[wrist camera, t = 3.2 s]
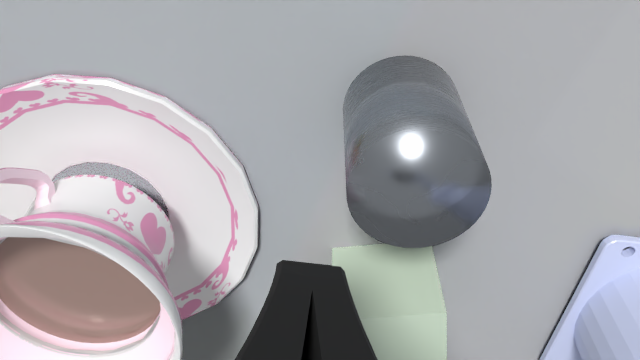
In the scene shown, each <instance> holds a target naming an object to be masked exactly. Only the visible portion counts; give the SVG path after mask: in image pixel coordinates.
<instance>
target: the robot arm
mask: <svg viewBox="0 0 640 360" xmlns="http://www.w3.org/2000/svg"><path fill="white" fill-rule="evenodd" d="M626 247H629V248H628V249H626V250H623V249H624V248H626ZM235 360H378V359H377V357H376V355H375V353H374V350H373V348H372V346H371V344H370V341H369V339H368V337H367V335H366V332H365V330H364V328H363V325H362V323H361V320H360V318H359V315H358V312H357V309H356V307H355V304H354V301H353V298H352V295H351V292H350V289H349V286H348V282H347V278H346V274H345V271H344V270H343V269H342V268H341V267H340V266H331V265H322V264H313V263H304V262H295V261H286V260H282V261H281V262H279V263H277V266H276V272H275V276H274V279H273V283H272V286H271V288H270V291H269V294H268V296H267V298H266V301H265V303H264V306H263V308H262V310H261V312H260V314H259V316H258V318H257V320H256V322H255V324H254V326H253V328H252V330H251V332H250V334H249V336H248V338H247V340H246V341H245V343H244V345H243V347H242V348H241V350H240V352H239V353H238V355H237V357H236V358H235ZM540 360H640V237H631V236H623V235H611V236H608V237H606V238H605V239H603V241H602V242H601V243H600V245H599V247H598V249H597V251H596V253H595V255H594V256H593V258H592V260H591V262H590V264H589V266H588V268H587V270H586V272H585V274H584V276H583V277H582V279H581V281H580V283H579V285H578V287H577V289H576V291H575V293H574V295H573V296H572V298H571V300H570V302H569V304H568V306H567V308H566V310H565V312H564V314H563V316H562V317H561V319H560V321H559V323H558V325H557V327H556V329H555V331H554V333H553V335H552V337H551V338H550V340H549V342H548V344H547V346H546V348H545V350H544V352H543V354H542V356H541V358H540Z"/></svg>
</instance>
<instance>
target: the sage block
mask: <svg viewBox="0 0 640 360" xmlns="http://www.w3.org/2000/svg"><path fill="white" fill-rule="evenodd" d="M332 266H340V267H341V268H342V269H343V270H344V271H345V274H346V278H347V282H348V286H349V289H350V292H351V295H352V298H353V301H354V304H355V307H356V309H357V312H358V315H359V318H360V320H361V323H362V325H363V328H364V330H365V332H366V335H367V337H368V339H369V341H370V344H371V346H372V348H373V350H374V353H375V355H376V357H377V359H378V360H447V312H446V308H445V303H444V299H443V294H442V289H441V285H440V280H439V276H438V271H437V267H436V262H435V258H434V253H433V249H432V246H430V247H423V248H403V247H397V246H392V245H389V244H375V245H363V246H351V247H339V248H332Z"/></svg>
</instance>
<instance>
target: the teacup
mask: <svg viewBox="0 0 640 360" xmlns="http://www.w3.org/2000/svg"><path fill="white" fill-rule="evenodd" d="M88 162H94V163H110V164H113V165H116V166H119V167H122V168H125V169H129V170H131V171H132V172H134V173H136V174H137V175H139V176H141V177H142V178H144V179H145V180H147V181H148V182H149V183H150V184H151V185H152V186H153V187H154V188H155V189H156V190H157V191H158V192H159V193H160V195H161V197H162V199H163V201H164V203H165V205H166V207H167V209H168V216H169V219H168V217H167V216H166V214H165V213H164V211H163V210H162V209H161V208H160V206H159V205H158V204H157V203H156V202H155V201H154V200H153V199H152V198H150V197H149V196H148V195H146V194H145V193H144V192H142V191H141V190H139V189H137V188H136V187H134V186H132V185H130V184H128V183H125V182H123V181H120V180H117V179H114V178H110V177H105V176H100V175H76V176H69V177H66V178H63V179H59V180H57V181H55V182H52V181H53V180H54V178H55V177H56V176H57V175H58V174H59V173H61V172H63V171H64V170H66V169H67V168H69V167H71V166H75V165H79V164H84V163H88ZM257 247H258V203H257V201H256V198H255V196H254V193H253V190H252V188H251V185H250V183H249V180H248V178H247V175H246V172H245V170H244V167H243V165H242V164H241V163H240V162H239V160H238V159H237V158H236V157H235V156H234V154H233V153H232V152H231V151H230V150H229V148H228V147H227V146H226V145H225V144H224V142H223V141H222V140H221V139H220V138H219V136H218V135H217V134H216V133H215V132H214V130H213V129H212V128H211V127H210V126H208V125H207V124H205V123H204V122H202V121H201V120H199V119H198V118H196V117H195V116H193V115H192V114H190V113H189V112H187V111H186V110H184V109H183V108H181V107H180V106H178V105H177V104H176V103H174V102H173V101H171V100H170V99H168V98H167V97H165V96H162V95H159V94H156V93H153V92H151V91H148V90H145V89H142V88H139V87H136V86H133V85H130V84H127V83H125V82H122V81H119V80H116V79H113V78H107V77H91V76H76V75H60V74H53V75H49V76H45V77H41V78H37V79H33V80H29V81H25V82H21V83H17V84H13V85H9V86H5V87H4V88H2V89H1V90H0V360H182V355H183V344H182V333H183V330H182V320H184V319H186V318H188V317H190V316H193V315H195V314H197V313H199V312H201V311H203V310H205V309H207V308H210V307H212V306H214V305H216V304H218V303H219V302H220V301H221V300H222V299H223V298H224V297H225V296H226V295H227V294H228V293H229V292H230V291H231V290H233V289H234V288H235V287H236V286H237V285H238V284H239V283H240V282H241V281H242V280H243V279H244V276H245V274H246V272H247V270H248V267H249V265H250V263H251V261H252V258H253V256H254V254H255V252H256V249H257Z"/></svg>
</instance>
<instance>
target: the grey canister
mask: <svg viewBox="0 0 640 360" xmlns="http://www.w3.org/2000/svg"><path fill="white" fill-rule="evenodd" d="M343 118H344V143H345V167H346V191H347V203H348V207H349V210H350V213H351V215H352V217H353V218H354V220H355V222H356V223H357V224H358V225H359V227H360V228H361V229H362V230H363V231H365V232H366V233H367V234H368V235H370V236H371V237H373V238H375V239H377V240H378V241H381V242H383V243H386V244H389V245H392V246H397V247H403V248H423V247H430V246H434V245H438V244H441V243H444V242H447V241H449V240H451V239H453V238H455V237H457V236H459V235H460V234H462V233H463V232H465V231H466V230H467V229H469V228H470V227H471V226H472V225H473V224H474V223H475V222H476V221H477V220H478V218H479V217H480V216H481V215H482V213H483V211H484V210H485V208H486V206H487V203H488V201H489V198H490V194H491V175H490V171H489V168H488V166H487V163H486V161H485V158H484V156H483V153H482V151H481V148H480V146H479V144H478V141H477V139H476V136H475V134H474V131H473V129H472V126H471V124H470V122H469V119H468V117H467V114H466V112H465V109H464V107H463V105H462V102H461V100H460V97H459V95H458V92H457V90H456V87H455V85H454V83H453V81H452V80H451V78H450V77H449V75H448V74H447V73H446V72H445V71H444V70H443V69H442V68H441V67H439V66H438V65H436V64H435V63H433V62H431V61H429V60H426V59H423V58H419V57H414V56H396V57H390V58H387V59H383V60H381V61H378V62H376V63H374V64H372V65H371V66H369V67H367V68H366V69H365V70H364V71H362V72H361V73H360V74H359V75H358V76H357V77H356V78H355V80H354V81H353V82H352V84H351V85H350V87H349V89H348V91H347V94H346V96H345V100H344V106H343Z"/></svg>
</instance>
